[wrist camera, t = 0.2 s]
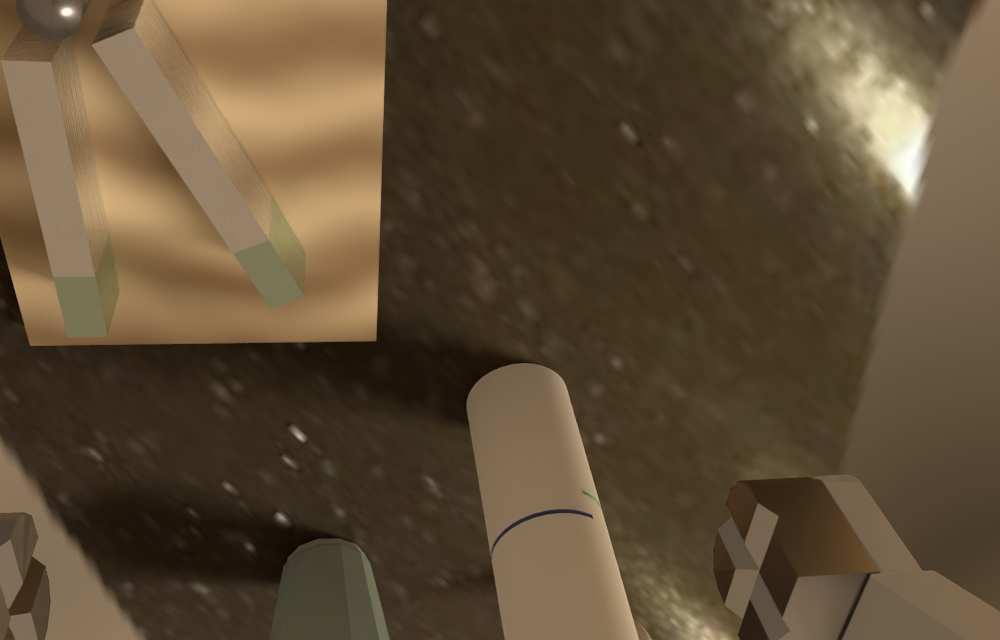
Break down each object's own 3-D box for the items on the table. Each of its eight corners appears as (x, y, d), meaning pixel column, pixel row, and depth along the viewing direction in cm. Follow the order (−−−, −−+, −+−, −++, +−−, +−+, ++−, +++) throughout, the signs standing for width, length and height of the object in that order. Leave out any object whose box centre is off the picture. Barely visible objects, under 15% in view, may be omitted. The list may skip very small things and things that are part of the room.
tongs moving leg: (30, -44, 41) (3, -4, 37) (105, -75, 41) (85, -39, 37) (246, 275, 53) (241, 326, 50) (305, 252, 53) (304, 303, 49)
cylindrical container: (495, 351, 62) (572, 710, 43) (585, 378, 65) (694, 725, 46) (449, 423, 66) (500, 782, 47) (536, 445, 69) (618, 792, 50)
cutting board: (-91, -145, 39) (-103, -136, 38) (388, -111, 43) (390, -101, 42) (36, 329, 56) (30, 345, 54) (375, 325, 59) (376, 340, 58)
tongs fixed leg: (23, 23, 43) (0, 60, 40) (70, 25, 43) (51, 62, 40) (82, 291, 52) (67, 337, 49) (119, 290, 53) (107, 336, 50)
